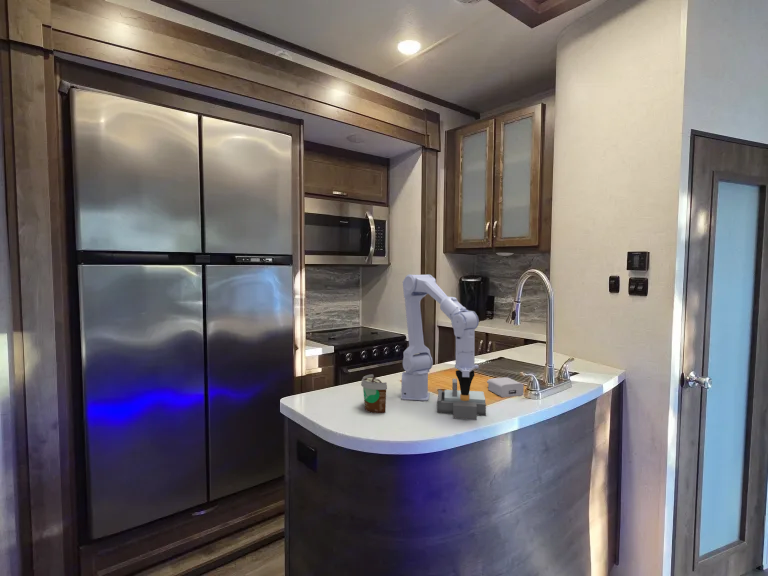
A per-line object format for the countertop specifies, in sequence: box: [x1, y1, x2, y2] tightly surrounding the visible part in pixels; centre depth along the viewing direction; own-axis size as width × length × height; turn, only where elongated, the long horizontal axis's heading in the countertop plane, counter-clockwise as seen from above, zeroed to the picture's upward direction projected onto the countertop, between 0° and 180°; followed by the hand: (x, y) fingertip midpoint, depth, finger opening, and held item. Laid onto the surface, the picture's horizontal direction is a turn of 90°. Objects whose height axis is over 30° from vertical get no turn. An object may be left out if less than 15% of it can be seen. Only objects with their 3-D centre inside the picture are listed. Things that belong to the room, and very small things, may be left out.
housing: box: [436, 389, 487, 421], centre depth 127 cm, size 15×16×4 cm
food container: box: [360, 373, 388, 414], centre depth 128 cm, size 12×6×10 cm, turn 23°
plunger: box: [460, 394, 469, 401], centre depth 121 cm, size 3×3×2 cm
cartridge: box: [444, 378, 486, 403], centre depth 129 cm, size 13×9×8 cm
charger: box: [486, 376, 525, 398], centre depth 148 cm, size 5×9×15 cm
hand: (464, 394), depth 121 cm, fingers closed, pressing on plunger
